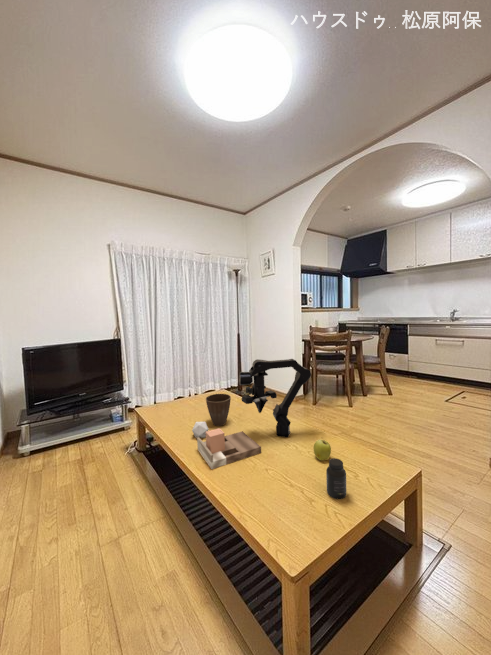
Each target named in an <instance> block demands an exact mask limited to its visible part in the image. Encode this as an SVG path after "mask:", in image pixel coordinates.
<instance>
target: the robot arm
mask: <svg viewBox="0 0 491 655" xmlns="http://www.w3.org/2000/svg"><path fill="white" fill-rule="evenodd" d="M251 365H252V366H251V367H250V369H249V370H248V371H239V376H238V380H239V386H247V385H248V386H247V387H245V393H246V394H245V395H242V397H241V402H242V403H244V404H245V405H249V404H253V403H254V404H255V406H256V408H257V409H256V410H257V412H258V413H259V414H261V413H262V411H263V409H264V407H265V405H266V403H267V402H268V401H269V399H267V398H269V397H270V398H271V399H277V396H278V394H277V393H276V391H273V390H265V389H267V388H266V387H267V386H266V385H265V376H268V375H269V374H268V373H267V372H266V371H268V370H273V369H283V368H284V369H285V368H292V369H293V370H294V371H295V375H294V381H293V382H292V384H291V386H290V388H289V389H288V391H287V392H286V394H285V396H284V398H283V400H282V401H281V403H280V404H278V403H276V405H275V407H273V409H272V415H273V418H274V419H275V421H276V426H275V434H276V437H283V438H289V437H290V435H291V433H292V432H291V431H290V430H291V428H290V425H291V420H290V419H289V418H288V415H289V408H290V407H291V405H292V404H293V402H294V400H295V398H296V397H297V395H298V393H299V391H301V390H300V389H301V388H302V386H303V385H305V384H306V383H307V382H308V381H309V379H310V378H311V377H312V372H311V370H309V369H308V368H306V367H305V366H302V365H301V364H300V363H299V362H297V360H295V359H294V358H288V359H277V360H276V359H275V360H266V359H255V360H253V361H252V364H251ZM251 384H252V385H251ZM249 385H250V386H251V387H250V386H249Z"/></svg>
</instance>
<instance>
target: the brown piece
mask: <svg viewBox="0 0 491 655" xmlns="http://www.w3.org/2000/svg"><path fill="white" fill-rule="evenodd" d="M224 436H225V450H222V451H219V452H216V453H211V452H210V450H209V449H208V448H207V447H206V440H205V441H203V440H202V438H199V437H198V438H196V441H197V450H198V452H199V454H200V455H201V456H202V458H203V459H204V461H205V462H206V463H207V465H208V467H209V468H210V469H211V470H213V469H217V468H220V467H223V466H225V465H228V464H232V463H235V462H237V461H241V460H244V459H246V458H250V457H252V456H255V455H259V454H261V453H262V446H261V445H260V444H258V442H257V441H255V440H253V438H251V437H250V436H249V435H248V434H246V432H244V430H243V431H238V432H235V433H230V434H227V435H224Z"/></svg>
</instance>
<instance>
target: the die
mask: <svg viewBox="0 0 491 655" xmlns="http://www.w3.org/2000/svg"><path fill="white" fill-rule="evenodd" d="M191 431H192V433H193V436H194V438H195V439H197V438H198V437H199V438H200V439H204V438H205V439H206V432H207V431H209V427H208V425H207V422H206V421H195V423H194V425H193V426H192V430H191Z"/></svg>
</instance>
